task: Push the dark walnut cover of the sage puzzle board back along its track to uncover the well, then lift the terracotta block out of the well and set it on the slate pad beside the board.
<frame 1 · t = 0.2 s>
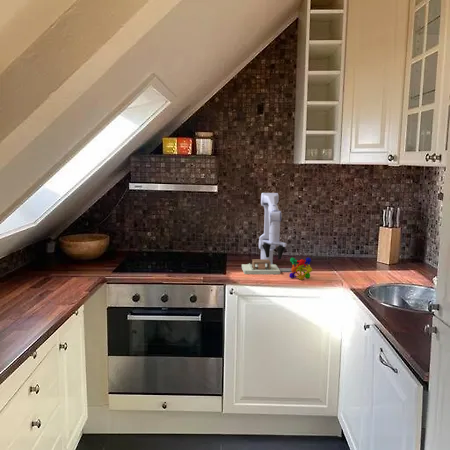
hand: (273, 258, 261), 10 cm above the worktop, tool pointing down, fingers open, 7 cm apart
walnut cover: (261, 264, 270), point 4 cm above the worktop, slide at 0.0 cm
puzzle board: (260, 270, 273), on the worktop
molecular model: (300, 279, 256), on the worktop
slate pad: (286, 270, 275), on the worktop
terracotta block: (260, 271, 271), resting in puzzle board
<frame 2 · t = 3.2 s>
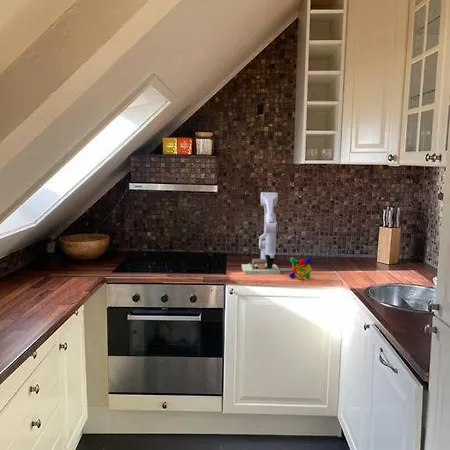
hand: (269, 268, 267), 3 cm above the worktop, tool pointing down, fingers closed
walnut cover: (260, 263, 271), point 4 cm above the worktop, slide at 1.2 cm, touching gripper
everything else where it was.
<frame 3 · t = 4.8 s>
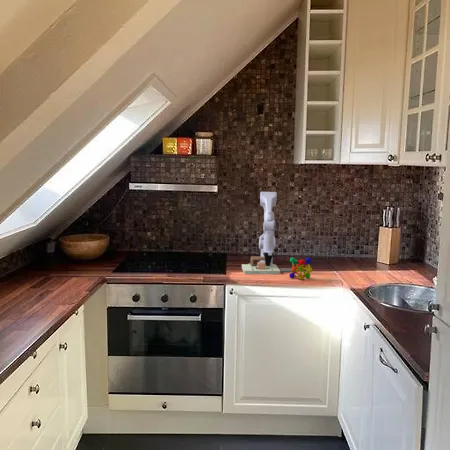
hand: (267, 265, 274), 3 cm above the worktop, tool pointing down, fingers closed
walnut cover: (259, 261, 278), point 4 cm above the worktop, slide at 8.1 cm, touching gripper
everything else where it was.
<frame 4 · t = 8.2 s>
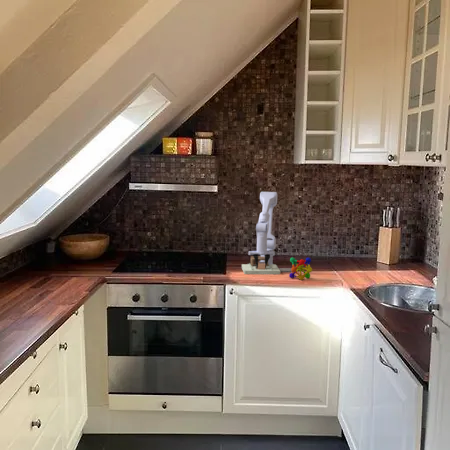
hand: (261, 267, 271), 2 cm above the worktop, tool pointing down, fingers closed on terracotta block, 4 cm apart
walnut cover: (259, 261, 278), point 4 cm above the worktop, slide at 8.2 cm
terracotta block: (260, 271, 271), resting in puzzle board, touching gripper
everything else where it was.
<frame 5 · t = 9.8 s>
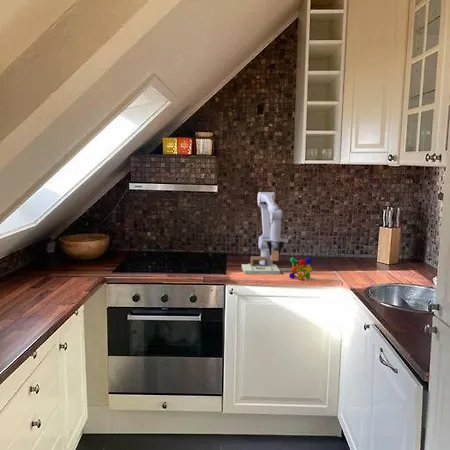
hand: (274, 255, 272), 9 cm above the worktop, tool pointing down, fingers closed on terracotta block, 4 cm apart
terracotta block: (274, 260, 272), point 7 cm above the worktop, touching gripper
everything else where it was.
when the fingers open (4 cm above the worktop, at t = 11.7 s): terracotta block stays where it is, resting on slate pad.
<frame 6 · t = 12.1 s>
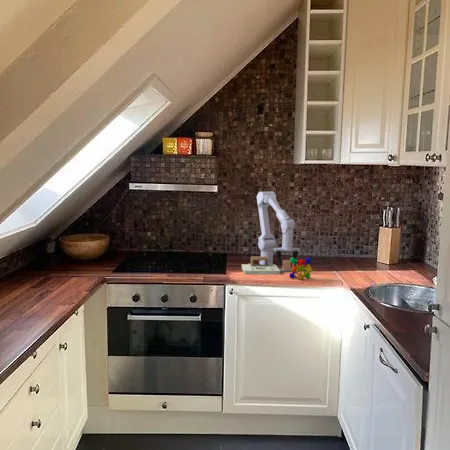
hand: (286, 264, 274), 4 cm above the worktop, tool pointing down, fingers open, 7 cm apart
terracotta block: (286, 269, 275), point 1 cm above the worktop, touching slate pad
everything else where it was.
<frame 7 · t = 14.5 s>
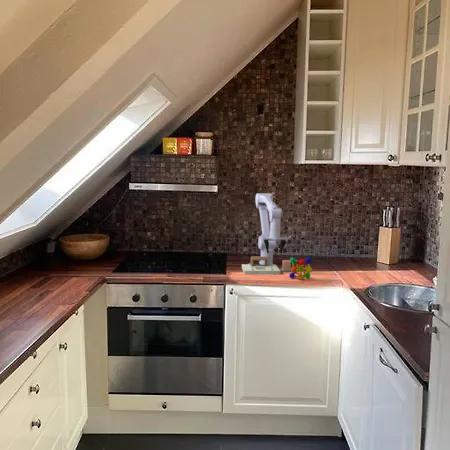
hand: (274, 253, 274), 10 cm above the worktop, tool pointing down, fingers open, 7 cm apart
nothing on the worktop moved.
at the end: walnut cover slide at 8.2 cm; terracotta block inside the target area on the slate pad (0.1 cm from its centre), point 0.6 cm above the slate pad's base; terracotta block tilted 0° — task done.
